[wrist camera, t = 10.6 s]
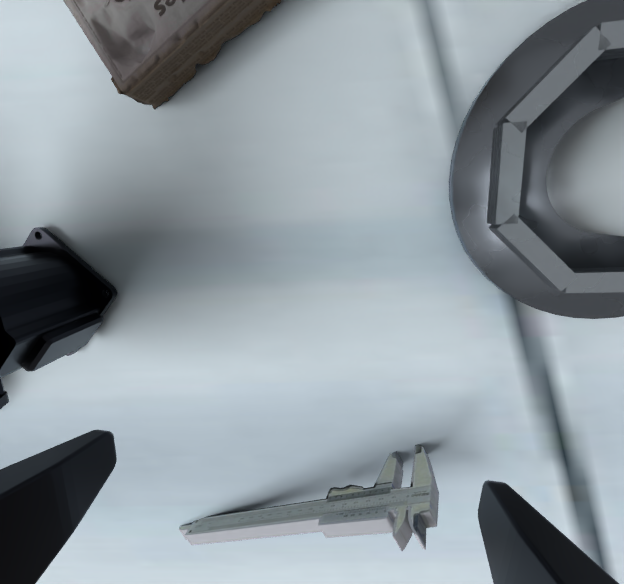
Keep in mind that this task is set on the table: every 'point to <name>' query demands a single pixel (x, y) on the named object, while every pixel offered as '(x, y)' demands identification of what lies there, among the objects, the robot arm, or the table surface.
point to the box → (161, 38)
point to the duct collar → (540, 166)
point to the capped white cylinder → (591, 172)
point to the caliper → (339, 511)
